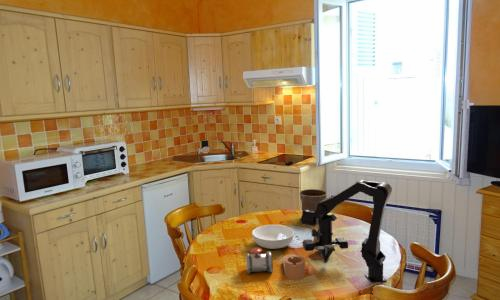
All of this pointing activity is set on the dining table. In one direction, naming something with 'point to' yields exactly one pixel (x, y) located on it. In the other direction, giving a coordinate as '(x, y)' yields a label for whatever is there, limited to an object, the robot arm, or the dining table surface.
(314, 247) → the robot arm
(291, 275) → the brown hollow cylinder
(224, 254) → the dining table surface
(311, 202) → the plant pot
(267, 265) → the valve stub
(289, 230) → the serving bowl
